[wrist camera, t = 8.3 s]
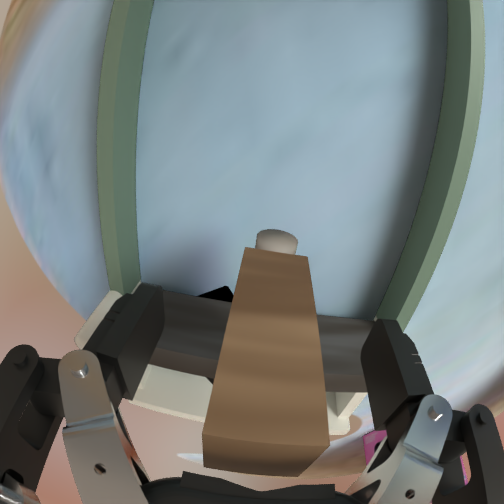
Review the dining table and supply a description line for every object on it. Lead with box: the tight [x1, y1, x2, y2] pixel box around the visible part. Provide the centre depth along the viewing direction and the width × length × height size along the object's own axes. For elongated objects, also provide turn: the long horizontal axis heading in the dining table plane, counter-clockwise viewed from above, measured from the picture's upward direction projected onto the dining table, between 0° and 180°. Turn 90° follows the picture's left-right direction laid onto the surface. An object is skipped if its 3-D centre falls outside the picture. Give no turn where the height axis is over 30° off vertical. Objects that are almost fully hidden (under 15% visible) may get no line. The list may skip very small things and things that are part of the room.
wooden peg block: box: [148, 229, 375, 477], centre depth 13 cm, size 10×18×14 cm, turn 83°
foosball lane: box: [74, 0, 485, 435], centre depth 14 cm, size 40×23×8 cm, turn 173°
